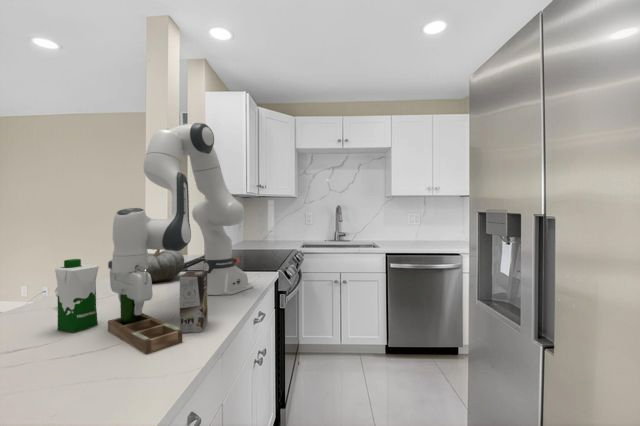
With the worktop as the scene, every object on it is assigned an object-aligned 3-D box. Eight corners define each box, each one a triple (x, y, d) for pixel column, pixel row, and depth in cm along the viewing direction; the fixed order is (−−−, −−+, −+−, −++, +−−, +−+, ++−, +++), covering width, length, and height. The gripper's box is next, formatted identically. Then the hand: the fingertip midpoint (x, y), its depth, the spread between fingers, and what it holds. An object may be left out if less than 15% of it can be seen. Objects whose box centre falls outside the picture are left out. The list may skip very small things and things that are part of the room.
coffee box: (202, 332, 93) (202, 275, 93) (179, 333, 92) (178, 276, 92) (208, 321, 102) (208, 270, 102) (186, 322, 101) (186, 270, 101)
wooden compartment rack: (141, 322, 101) (141, 312, 101) (182, 341, 86) (182, 329, 86) (108, 330, 94) (107, 319, 94) (146, 354, 79) (146, 340, 79)
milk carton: (82, 320, 102) (82, 257, 102) (103, 324, 99) (102, 259, 99) (51, 330, 94) (51, 261, 94) (72, 334, 91) (72, 263, 91)
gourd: (195, 274, 162) (188, 240, 161) (142, 292, 144) (133, 254, 143) (175, 273, 179) (168, 242, 178) (125, 288, 162) (117, 254, 161)
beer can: (121, 334, 91) (120, 292, 91) (120, 328, 95) (120, 288, 95) (143, 330, 94) (142, 289, 94) (141, 325, 98) (140, 285, 98)
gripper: (158, 266, 90) (158, 315, 91) (128, 259, 103) (128, 303, 103) (134, 269, 86) (134, 322, 86) (105, 262, 98) (105, 307, 98)
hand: (130, 311), depth 95 cm, fingers open, 8 cm apart
